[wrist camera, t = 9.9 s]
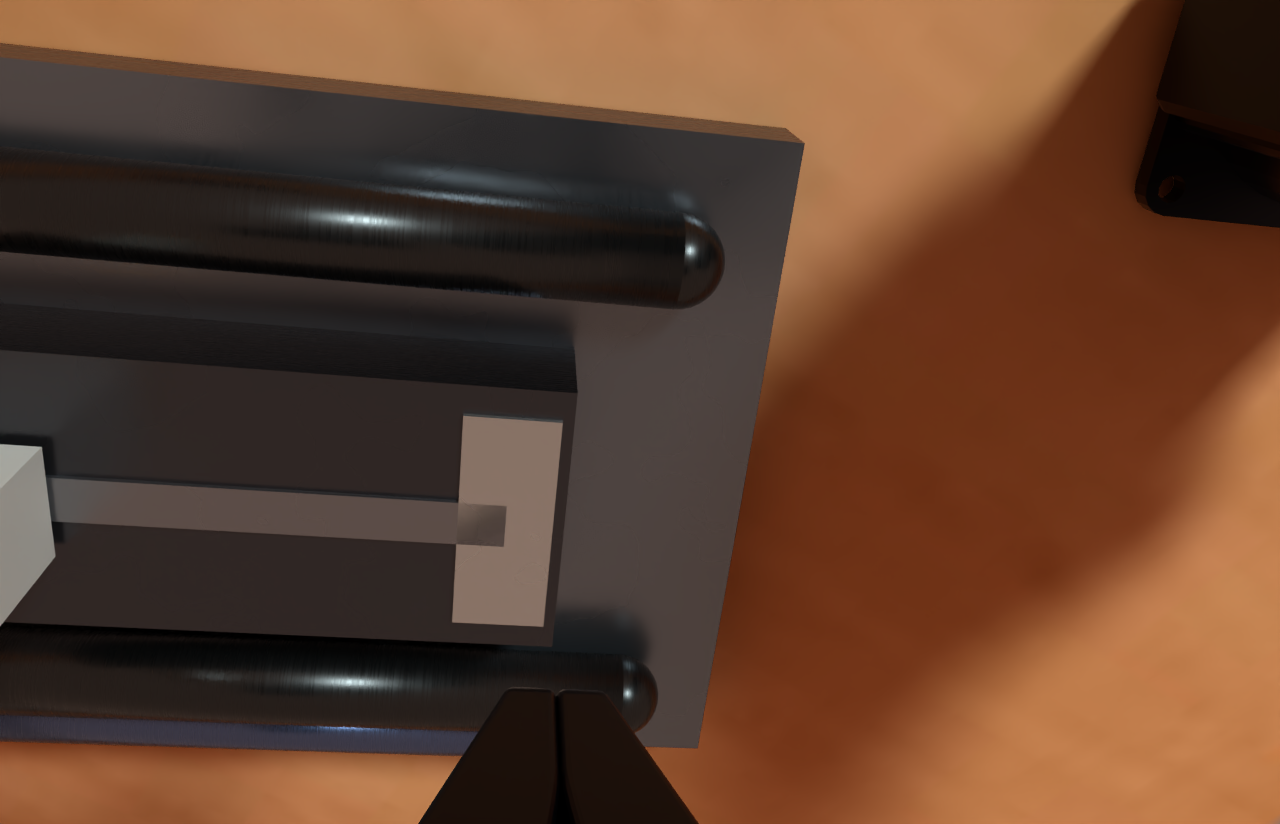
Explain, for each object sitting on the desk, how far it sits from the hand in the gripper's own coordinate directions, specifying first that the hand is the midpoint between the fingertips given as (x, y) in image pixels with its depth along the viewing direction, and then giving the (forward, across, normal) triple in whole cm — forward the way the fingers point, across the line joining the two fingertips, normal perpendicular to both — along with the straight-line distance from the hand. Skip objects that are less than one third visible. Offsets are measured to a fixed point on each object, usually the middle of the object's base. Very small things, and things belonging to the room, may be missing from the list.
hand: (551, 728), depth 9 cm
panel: (+12, +5, +3) cm, 13 cm away
